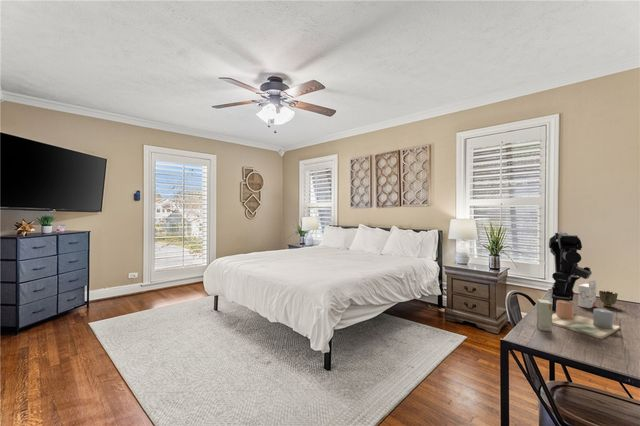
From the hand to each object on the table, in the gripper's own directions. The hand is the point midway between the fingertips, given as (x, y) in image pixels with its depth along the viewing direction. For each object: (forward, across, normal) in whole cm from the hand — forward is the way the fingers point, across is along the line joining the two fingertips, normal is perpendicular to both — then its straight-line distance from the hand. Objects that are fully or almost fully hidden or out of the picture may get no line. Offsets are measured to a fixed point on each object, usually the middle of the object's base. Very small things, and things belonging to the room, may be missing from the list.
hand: (566, 292), depth 144 cm
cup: (+13, +44, -5) cm, 46 cm away
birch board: (+13, -4, -6) cm, 15 cm away
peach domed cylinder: (+12, 0, 0) cm, 12 cm away
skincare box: (+13, -24, 0) cm, 28 cm away
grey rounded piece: (+12, -1, -14) cm, 18 cm away
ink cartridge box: (+13, +34, +2) cm, 36 cm away
